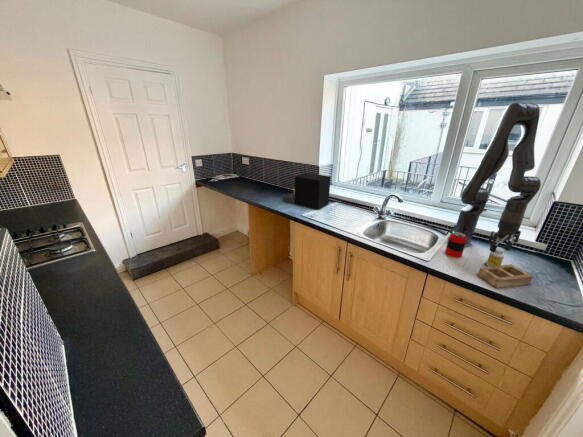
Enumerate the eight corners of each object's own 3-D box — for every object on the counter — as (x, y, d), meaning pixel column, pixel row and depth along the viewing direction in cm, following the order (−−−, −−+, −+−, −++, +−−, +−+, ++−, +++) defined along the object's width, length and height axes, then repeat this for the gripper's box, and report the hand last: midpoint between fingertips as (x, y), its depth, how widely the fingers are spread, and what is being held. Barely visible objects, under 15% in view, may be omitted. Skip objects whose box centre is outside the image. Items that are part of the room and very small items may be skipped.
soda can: (447, 256, 128) (453, 236, 123) (443, 249, 135) (448, 230, 130) (463, 258, 126) (470, 238, 122) (458, 251, 133) (464, 232, 128)
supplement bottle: (502, 267, 119) (508, 250, 116) (495, 269, 117) (502, 252, 114) (490, 261, 124) (496, 245, 120) (483, 264, 122) (489, 247, 118)
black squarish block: (294, 196, 222) (294, 170, 213) (328, 204, 204) (330, 176, 195) (282, 201, 209) (282, 174, 200) (318, 210, 190) (319, 180, 181)
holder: (477, 275, 114) (480, 267, 112) (508, 271, 116) (511, 264, 115) (496, 288, 105) (500, 280, 103) (529, 283, 108) (533, 276, 106)
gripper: (515, 215, 115) (504, 245, 122) (490, 217, 113) (480, 248, 119) (532, 221, 109) (519, 253, 115) (506, 224, 106) (494, 256, 112)
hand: (499, 250), depth 117 cm, fingers open, 8 cm apart
